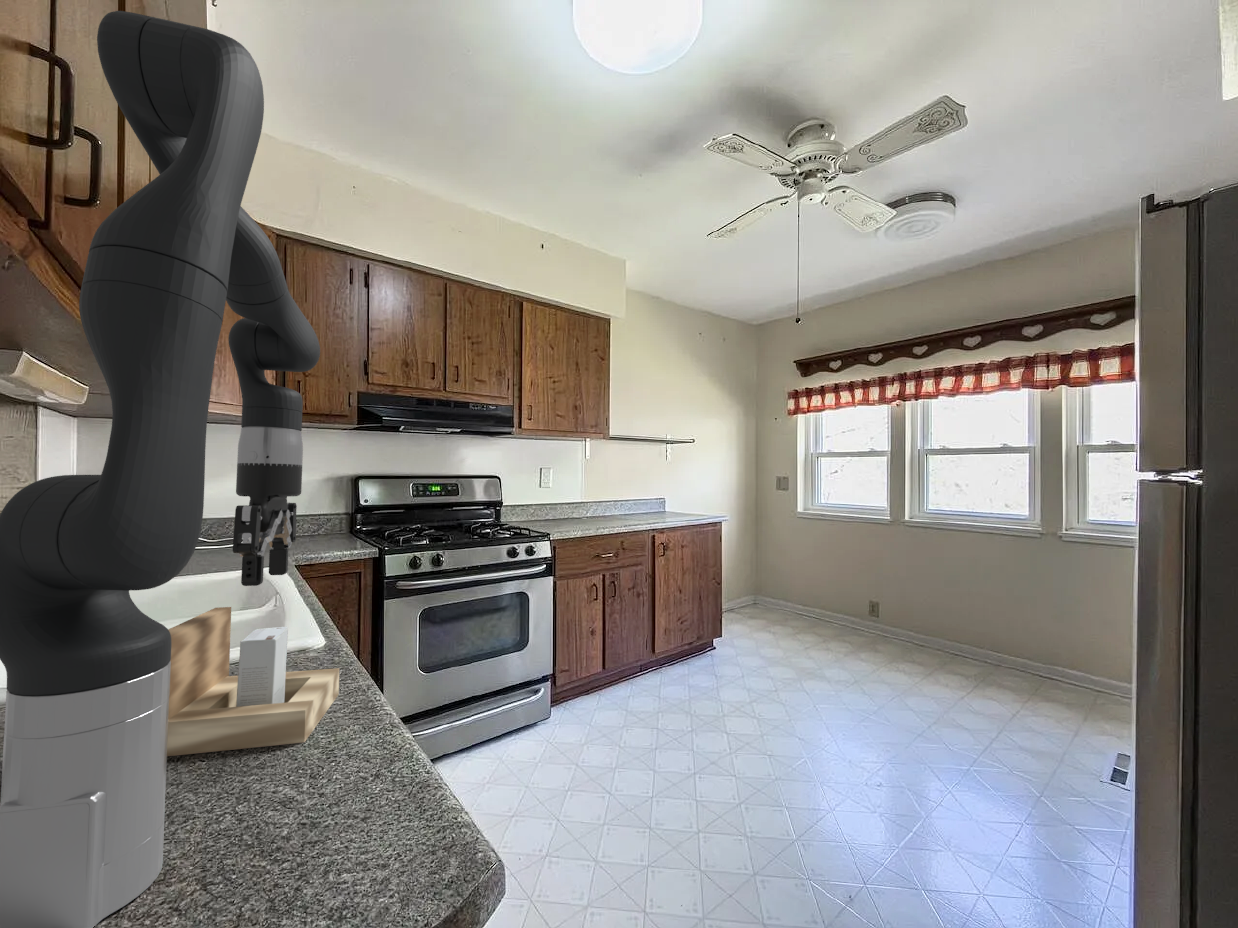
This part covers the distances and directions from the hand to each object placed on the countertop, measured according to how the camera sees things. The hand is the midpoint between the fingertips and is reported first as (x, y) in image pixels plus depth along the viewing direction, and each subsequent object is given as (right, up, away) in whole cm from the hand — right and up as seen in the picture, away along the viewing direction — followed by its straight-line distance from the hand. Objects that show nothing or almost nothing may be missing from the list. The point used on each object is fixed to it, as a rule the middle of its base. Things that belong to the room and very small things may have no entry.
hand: (265, 579), depth 71 cm
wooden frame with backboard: (0, -19, -1) cm, 19 cm away
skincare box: (0, -19, -1) cm, 20 cm away
